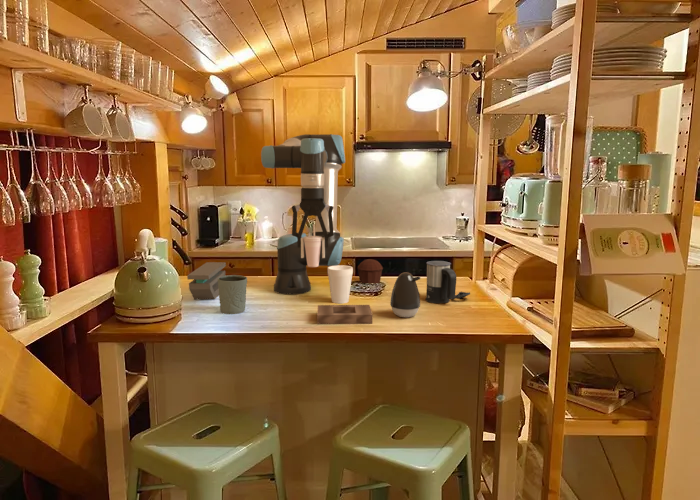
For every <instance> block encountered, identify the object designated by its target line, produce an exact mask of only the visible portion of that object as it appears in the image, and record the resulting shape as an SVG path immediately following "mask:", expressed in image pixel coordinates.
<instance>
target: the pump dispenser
mask: <svg viewBox="0 0 700 500" xmlns="http://www.w3.org/2000/svg"><path fill="white" fill-rule="evenodd" d="M419 280H421V276H419V275H418V276H415V277H414V276H413V274H412V273H410V272H408V271H407V272H402V273H400V274H399V275H398V277H397V278H396V280H395V282H394V285H393V288H392V291H391V295H390V307H391V311H392V312H393V314H395V316H397V317H400V318H412V317H413V316H415V315H416V314H418V311H419V310H420V309H419V308H420V307H421V299H420V290H419V288H418V287H419V286H418V284H417V281H419Z"/></svg>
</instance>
